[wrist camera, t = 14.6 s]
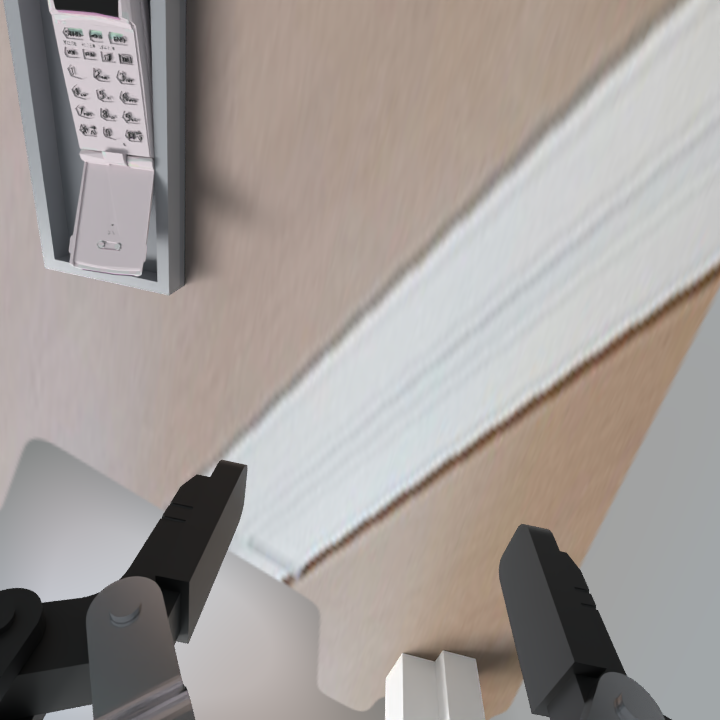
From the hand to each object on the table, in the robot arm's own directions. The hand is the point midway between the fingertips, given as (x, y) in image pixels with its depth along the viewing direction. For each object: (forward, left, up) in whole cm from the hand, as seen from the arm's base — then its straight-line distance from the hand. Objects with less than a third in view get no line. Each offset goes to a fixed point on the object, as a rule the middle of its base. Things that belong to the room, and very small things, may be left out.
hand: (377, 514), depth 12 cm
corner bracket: (+61, +21, -28) cm, 70 cm away
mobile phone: (-9, -23, -27) cm, 36 cm away
